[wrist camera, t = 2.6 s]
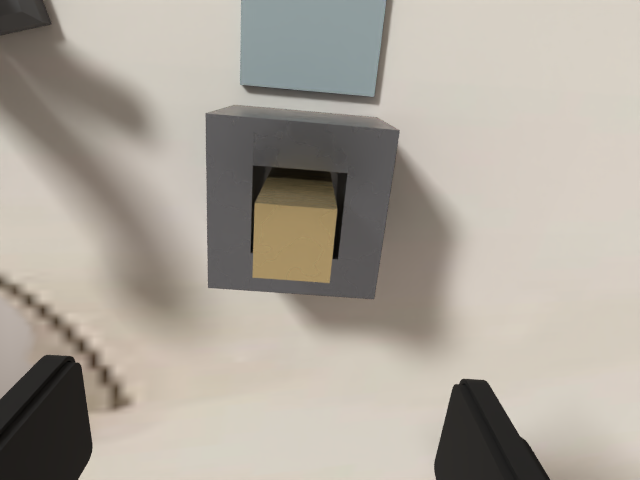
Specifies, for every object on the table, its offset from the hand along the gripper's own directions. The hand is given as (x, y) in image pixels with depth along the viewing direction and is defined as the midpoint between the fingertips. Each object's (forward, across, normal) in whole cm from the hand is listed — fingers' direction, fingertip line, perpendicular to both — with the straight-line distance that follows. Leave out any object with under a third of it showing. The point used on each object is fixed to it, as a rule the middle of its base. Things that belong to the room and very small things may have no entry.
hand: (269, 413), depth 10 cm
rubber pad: (+25, 0, -12) cm, 28 cm away
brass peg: (+23, 0, 0) cm, 23 cm away
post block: (+25, 0, 0) cm, 25 cm away
